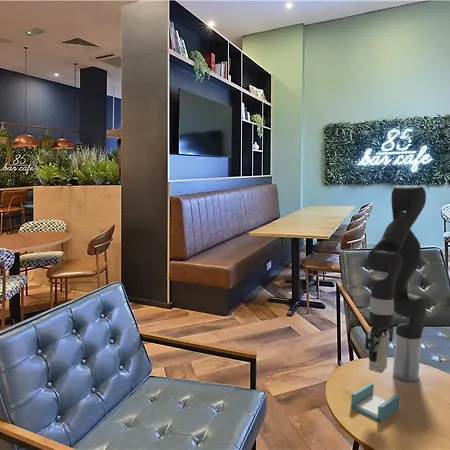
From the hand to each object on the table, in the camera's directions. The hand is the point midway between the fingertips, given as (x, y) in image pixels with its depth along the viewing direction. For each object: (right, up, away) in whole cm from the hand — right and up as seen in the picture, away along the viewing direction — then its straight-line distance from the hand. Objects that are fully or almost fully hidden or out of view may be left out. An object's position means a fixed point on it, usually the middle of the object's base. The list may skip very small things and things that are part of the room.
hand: (378, 357), depth 140 cm
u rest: (0, -18, +2) cm, 18 cm away
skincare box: (0, -4, +1) cm, 4 cm away
